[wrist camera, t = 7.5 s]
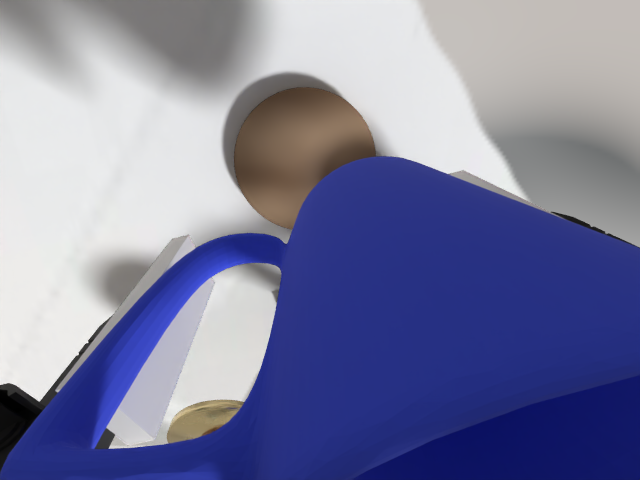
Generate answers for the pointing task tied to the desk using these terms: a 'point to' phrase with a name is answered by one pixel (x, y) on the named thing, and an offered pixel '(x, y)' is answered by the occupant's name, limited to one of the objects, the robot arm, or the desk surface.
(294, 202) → the dish
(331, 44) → the desk surface
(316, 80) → the desk surface
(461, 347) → the mug
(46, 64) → the desk surface
